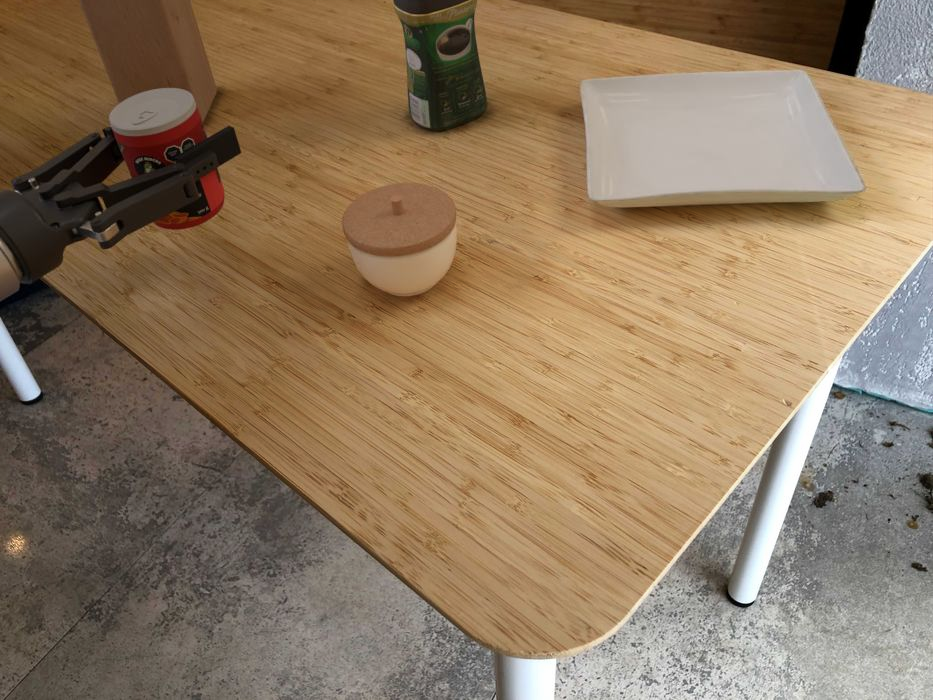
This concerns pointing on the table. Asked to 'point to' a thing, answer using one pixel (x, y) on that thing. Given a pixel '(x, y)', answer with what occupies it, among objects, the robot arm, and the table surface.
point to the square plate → (713, 140)
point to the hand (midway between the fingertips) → (206, 128)
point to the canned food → (166, 146)
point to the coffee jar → (442, 62)
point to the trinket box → (402, 236)
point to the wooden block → (151, 47)
